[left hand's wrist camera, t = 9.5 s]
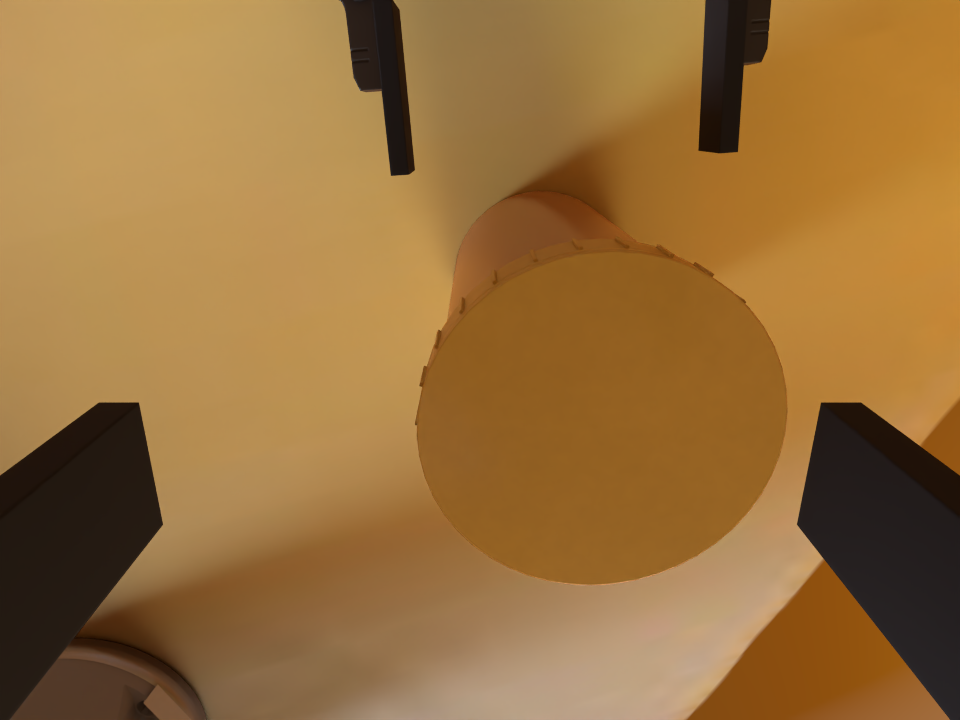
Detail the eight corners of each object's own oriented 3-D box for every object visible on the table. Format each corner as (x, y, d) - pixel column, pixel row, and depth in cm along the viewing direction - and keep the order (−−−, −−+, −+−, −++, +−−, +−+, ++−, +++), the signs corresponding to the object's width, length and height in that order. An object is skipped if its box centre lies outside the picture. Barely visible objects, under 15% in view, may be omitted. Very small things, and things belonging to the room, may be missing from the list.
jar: (636, 333, 37) (783, 526, 19) (479, 373, 38) (482, 593, 20) (604, 170, 34) (742, 221, 16) (434, 217, 35) (389, 316, 17)
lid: (779, 508, 21) (807, 545, 19) (471, 579, 22) (471, 619, 20) (738, 192, 17) (767, 200, 16) (374, 290, 18) (363, 308, 17)
